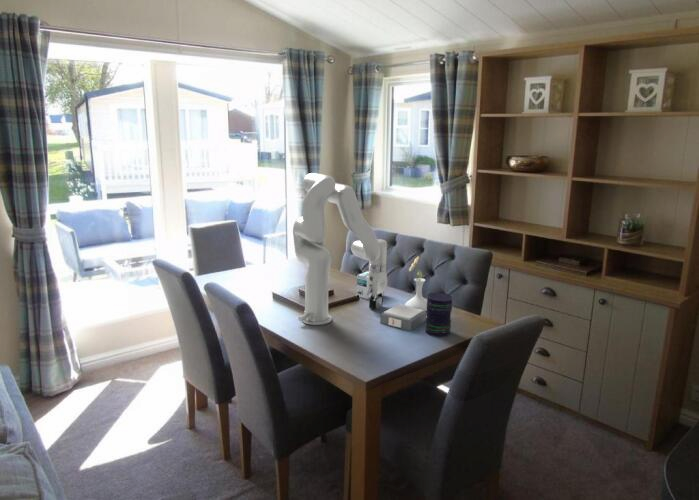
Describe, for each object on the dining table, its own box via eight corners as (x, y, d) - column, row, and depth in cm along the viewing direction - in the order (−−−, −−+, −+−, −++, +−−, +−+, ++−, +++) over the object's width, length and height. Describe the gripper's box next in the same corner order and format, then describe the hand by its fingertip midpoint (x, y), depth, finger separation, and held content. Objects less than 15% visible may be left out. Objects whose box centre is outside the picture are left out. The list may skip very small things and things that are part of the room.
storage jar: (455, 332, 209) (457, 296, 206) (440, 339, 202) (442, 302, 199) (434, 325, 216) (437, 290, 213) (419, 331, 209) (421, 295, 206)
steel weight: (377, 310, 232) (378, 299, 231) (368, 308, 235) (368, 297, 233) (383, 307, 236) (384, 296, 235) (373, 305, 239) (374, 294, 237)
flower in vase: (411, 303, 242) (414, 250, 237) (434, 308, 237) (438, 254, 231) (399, 311, 231) (401, 256, 226) (423, 316, 226) (426, 260, 220)
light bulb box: (367, 299, 246) (368, 277, 244) (355, 296, 250) (356, 274, 248) (380, 294, 254) (381, 272, 252) (368, 291, 258) (369, 270, 256)
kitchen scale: (409, 331, 209) (410, 320, 208) (379, 323, 217) (379, 312, 215) (425, 320, 221) (426, 309, 220) (396, 313, 229) (397, 303, 227)
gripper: (374, 273, 222) (373, 313, 226) (394, 264, 236) (392, 303, 240) (359, 270, 226) (358, 310, 230) (379, 262, 240) (378, 300, 244)
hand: (375, 306), depth 235 cm, fingers closed on steel weight, 5 cm apart
